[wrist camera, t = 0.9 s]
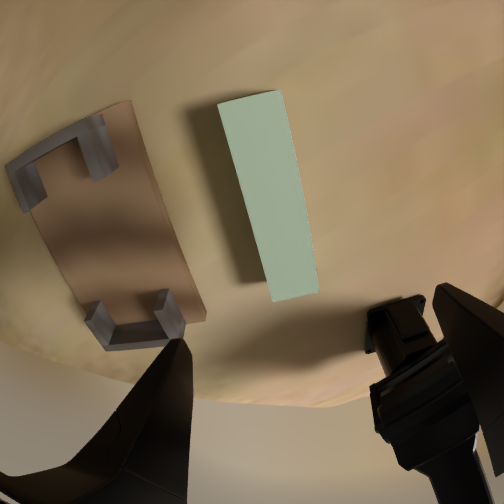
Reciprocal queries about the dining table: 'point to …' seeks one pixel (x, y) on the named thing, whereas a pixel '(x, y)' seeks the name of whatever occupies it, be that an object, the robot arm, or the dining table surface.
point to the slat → (272, 191)
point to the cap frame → (109, 230)
